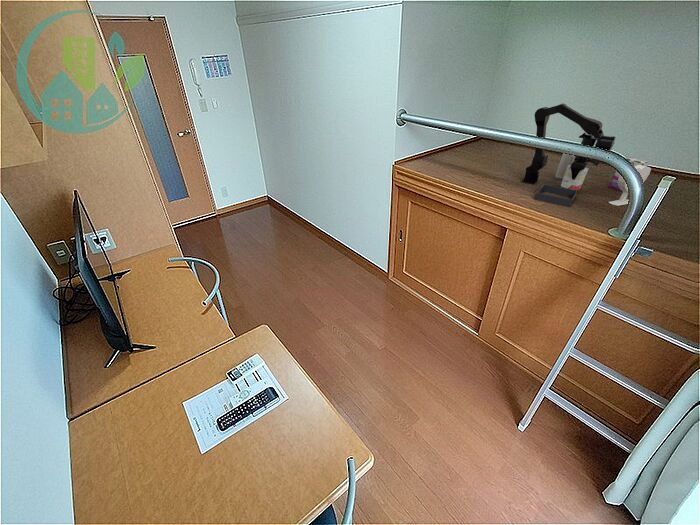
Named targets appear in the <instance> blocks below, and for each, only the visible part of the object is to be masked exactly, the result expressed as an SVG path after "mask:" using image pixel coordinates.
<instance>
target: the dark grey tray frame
mask: <svg viewBox="0 0 700 525" xmlns="http://www.w3.org/2000/svg"><path fill="white" fill-rule="evenodd" d="M543 192H547V193H551V194H552V193H553V194H557V195H563V196H568V197H572V198H571V199H570V198H565V197H560V196H556V195H551V194H547V193H543ZM578 192H579V190H572V189H568V188H564V187H561V186H556V185H552V184H546V183H544V184H543V185H542V186H541V187H540V188H539V189H538V190H537V191H536V193H535V196H534V200H537V201H542V202H546V203H549V204H555V205H560V206H564V207H568V208H570V207H571V206H572V204H573V202H574V200H575V198H576V197H577V194H578Z"/></svg>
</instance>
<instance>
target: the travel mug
mask: <svg viewBox="0 0 700 525" xmlns="http://www.w3.org/2000/svg"><path fill="white" fill-rule="evenodd" d="M575 158H576V156H574V155H569V154H565V153H563V152H562V155H561V159H560V161H559V164H558V167H557V170H556V173H555V176H554V179H556V180H559V181H562V180H563V178H564V175H565V172H566V169H567V166H568V165H571V163H572V162H574V161H575V160H574V159H575Z"/></svg>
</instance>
